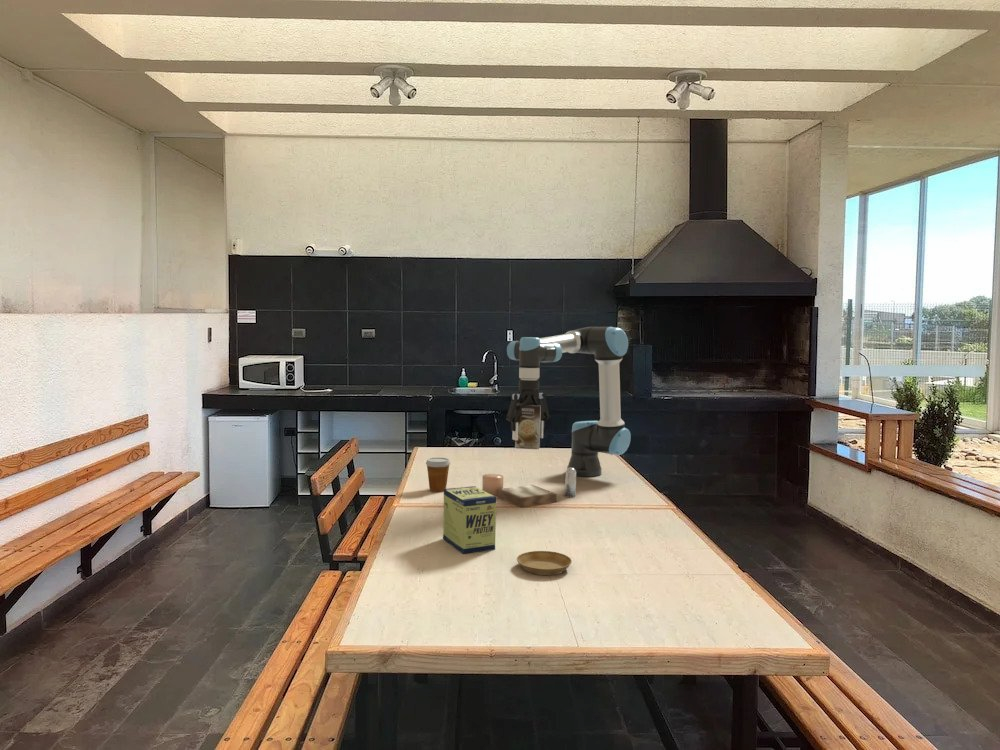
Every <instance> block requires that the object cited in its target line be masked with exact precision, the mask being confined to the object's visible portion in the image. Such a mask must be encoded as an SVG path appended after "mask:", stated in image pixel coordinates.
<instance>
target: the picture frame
mask: <svg viewBox="0 0 1000 750" xmlns="http://www.w3.org/2000/svg"><path fill="white" fill-rule="evenodd" d="M557 495H558V494H557V493H555V492H553V491H550V490H549V489H545V488H542V487H540V486H537V485H534V484H529V485H521V486H512V487H503V489H497V496H496V498H498V499H501V500H503V501H505V502H508V503H510V504H512V505H515V506H516V507H518V508H523V507H531V506H537V505H544V504H552V503H557V501H558V500H557V498H558V497H557Z"/></svg>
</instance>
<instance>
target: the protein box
mask: <svg viewBox="0 0 1000 750" xmlns="http://www.w3.org/2000/svg"><path fill="white" fill-rule="evenodd" d="M442 515H443V516H442V517H443V521H442V522H443V524H442V527H443V528H442V539H443V540H444V541H445V542H447V543H448V544H450V545H451V546H452V547H453V548H455V549H456V550H457V551H459V552H460V553H461V554H463V555H465V554H471V553H472V554H473V553H477V552H484V551H492V550H496V531H497V530H496V527H497V525H496V522H497V520H496V519H497V496H496V497H495V496H493V495H491V494H489V493H487V492H485V491H483V490H482V488H479V487H477V486H473V485H472V486H461V487H450V488H446V489H444V491H443V514H442Z"/></svg>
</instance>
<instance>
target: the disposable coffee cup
mask: <svg viewBox="0 0 1000 750" xmlns="http://www.w3.org/2000/svg"><path fill="white" fill-rule="evenodd" d="M425 464H426V465H425V466H426V467H427V468H426V469H427V470H426V471H427V475H428V477H427V478H428V487H429V491H430V492H433V493H442V492H444V489H447V483H448V476H449V470H450V466H451V465H450V464H451V461H450V459H449V458H448V457H447V458H446V457H430V458H427V459H426V462H425Z"/></svg>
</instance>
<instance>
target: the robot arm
mask: <svg viewBox="0 0 1000 750" xmlns="http://www.w3.org/2000/svg"><path fill="white" fill-rule="evenodd" d="M628 349H629V339H628V336H627V334H626V332H625V331H624V330H623V329H622V328H620V327H615V326H614V327H613V326H586V327H582V328H577V329H573V330H568V331H567V332H565V333H564V334H557V335H553V336H545V337H536V336H535V337H534V336H533V337H532V336H529V337H528V336H527V337H526V336H524V337H523V336H522V337H521V338H520V340H512V341H511V342H509V343H508V344H507V347H506V354H507V357H508V359H510V360H512V361H518V362H519V364H518V367H519V369H518V370H519V371H518V378H519V379H518V390H519V392H518V393H511V395H510V396H511V401H510V404H509V406H508V407H509V408H508V410H507V414H506V418H505V420H506V421H508V422H510V431H511V432H512V437H511V440H513V441H515V440H518V422H516V421H517V419H518V417H519V415H520V414H521V412H522V406H526V405H529V404H534V405H541V419H540V439H544V429H546V421H548V419H550V418H551V416H550V411H549V408H548V407H549V406H548V404H547V400H546V399H547V398H546V396H547V393H546V392H540V391H539V390H540V380H539V379H540V371H541V370H540V363H557V362H558V361H559V360H561V358H562V356H563V353H569V354H576V353H577V354H579V353H580V354H588V355H594V361H595V362H596V363H597V364H598V383H599V386H598V389H599V408H600V409H599V417H600V419H599V420H581V421H575V422H574V423H573V424H572V428H571V452H570V453H571V454H570V459H569V461H568V465H567V466H566V470H567V469H568V468H570V467H572V468H574V469H575V470H576V477H598V476H600V475H602V467H601V462H600V459H599V453H603V454H606V455H607V454H609V455H611V456H620V455H623V454H625V452H627V450H628V448H629V446H630V444H631V439H632V438H631V436H632V434H631V431H630V430H629V429H628V428H627V427H625V421H624V420H623V419H622V418H621V417H622V416H621V415H622V414H621V413H622V412H621V411H622V409H621V379H620V377H621V376H620V363H621V362H622V360H623V358H624V356H625V355H626V354H627V352H628ZM518 400H519V401H518ZM517 404H518V405H520V408H519V409H518V410H517V411H516V407H517Z"/></svg>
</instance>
